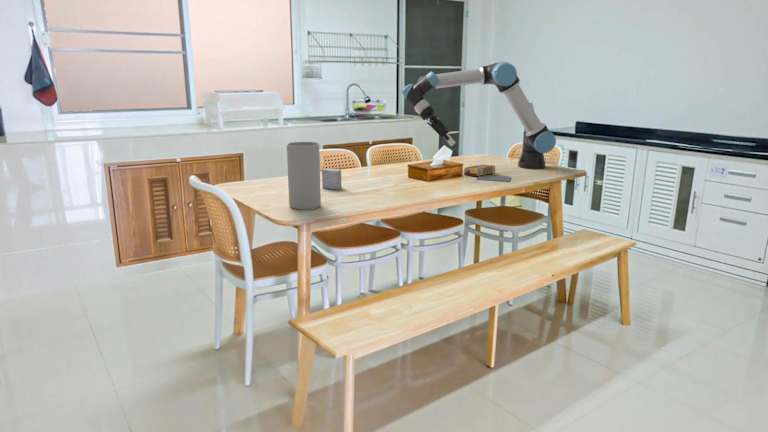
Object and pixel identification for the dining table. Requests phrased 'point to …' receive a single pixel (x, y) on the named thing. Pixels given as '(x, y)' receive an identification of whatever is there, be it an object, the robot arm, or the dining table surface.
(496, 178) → the slate mat
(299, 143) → the cylinder vase
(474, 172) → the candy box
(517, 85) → the robot arm
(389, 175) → the dining table surface
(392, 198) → the dining table surface
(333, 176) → the medicine box
